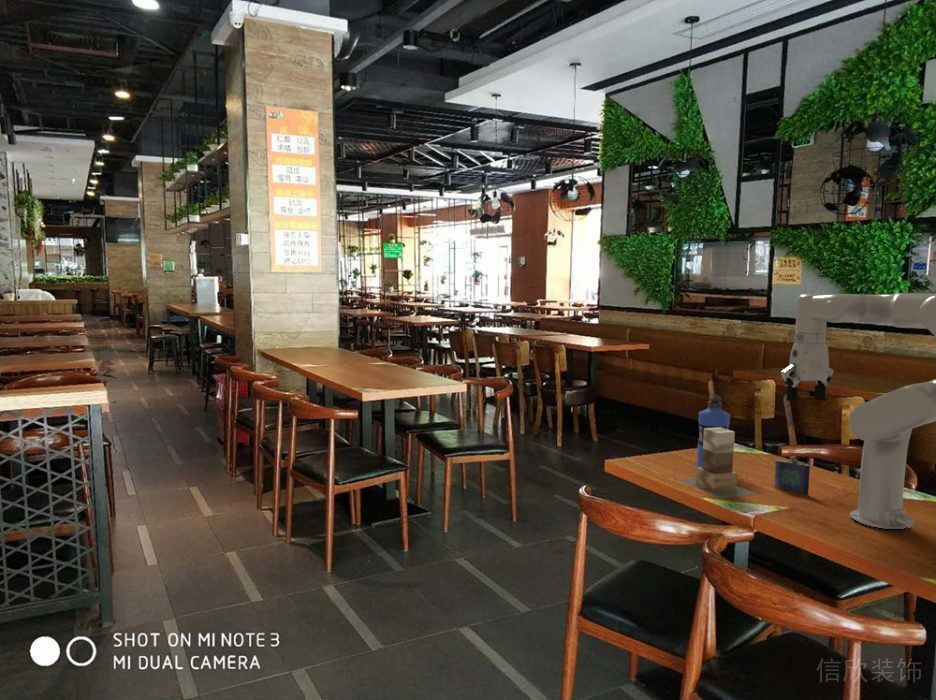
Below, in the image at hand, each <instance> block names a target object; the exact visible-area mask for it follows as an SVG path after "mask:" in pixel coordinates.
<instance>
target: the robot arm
mask: <svg viewBox="0 0 936 700" xmlns="http://www.w3.org/2000/svg"><path fill="white" fill-rule="evenodd" d="M795 314H796V315H795V331H794V336H793V337H792V338H793V340H794V342H793V345H792V348H791V351H790V356H789V363H788V366H787V367H786V368H784V369H783V370H781V372H780V374H781V377H782V381H783V383H784V385H785V387H787V390H786V401H788V402H791V403H792V402H793V403H797V402H798V394H799V388H798V387H797V386H798V385H799V383H800V382H801V381H802V382H814V381H815V383H816V384H815V385H814V396H813V399H814V400H817V401H825V400H826V391H827V390H826V388H827V387H828V386H829V382H830V381H831V379H832V377H833V374H834V369H833V368H831V367H830V356H829V354H830V353H829V348H828V344H826V334H827V323H833V324H837V323H839V324H840V323H875V324H886V325H891V326H892V327H894V328H900V329H901V328H903V329H904V328H905V329H925V330H928V331H929V332H930V333H931V334H932V335H933V336H934V337H935V338H936V293H934V292H933V293H931V292H930V293H923V292H922V293H918V292H917V293H916V292H897V293H896V292H895V293H893V294H863V293H862V294H861V293H859V294H858V293H836V294H835V293H834V294H821V293H820V294H819V293H818V294H817V293H804V294H803V293H802V294H800V295H799V296H797V301H796V313H795ZM935 422H936V378H935V379H932V380H930V381H925V382H920V383H913V384H908V385H905V386H902V387H898V388H896V389H894V390H891V391H889V392H887V393H885V394H883V395H880V396H877V397H876V398H873V399H870V400H869V401H866V402H863V403H861V404H859V405H858V406H856V407H855V408H854V409H852V411H851V413H850V415H849V418H848V426H849V429H850V431H851V433H852V434H853V435H854V436H855V437H856V438H857V439H859V440H861V441H864V442H863V447H862V453H861V463H860V473H859V474H860V475H859V490H858V503H857V509H854V510H852V511H850V514H849V515H850V516H851V517H850V516H849V517H850V518H853V519H854V520H856V521H858V522H860V523H863V524H866V525H870V526H874V527H878V528H884V529H903V530H905V529H904V528H906V527H907V528H906V529H910V528H911V527H912V526H913V525H914V523H915V521H916V520H915V518H912V517H909V516H906V515H907V514H906V512H907V510H906V509H905V508H903V499H904V489H905V476H906V468H907V467H906V466H907V456H908V455H907V454H908V447H909V442H910V439H911V435H912V431H913V429H916V428H918V427H920V426H923V425H927V424H930V423H931V424H932V423H935ZM853 519H852V520H853ZM854 520H853V521H854ZM860 523H859V524H860ZM878 528H877V529H878ZM884 529H883V530H884Z"/></svg>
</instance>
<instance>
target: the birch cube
mask: <svg viewBox="0 0 936 700" xmlns="http://www.w3.org/2000/svg"><path fill="white" fill-rule="evenodd" d="M735 435H736V432H735V431H733V430H732V429H731V430H730V429H729V428H728V429H724V428H721V427H718V428H704V437H703V449H706V450H708V451H711V452H714V453H716V454H717V453H729V452H733V453H735V452H734V451H735Z"/></svg>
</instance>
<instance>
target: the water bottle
mask: <svg viewBox="0 0 936 700" xmlns="http://www.w3.org/2000/svg"><path fill="white" fill-rule="evenodd" d="M708 399H709V400H708V401H707V408H706V409H704V410H701V411H699V412H698V420H697V421H698V429H699V437H698V441H697V451H696V469H697V468H698V467H702V451H703V437H704V428H718V427H721V428H724V429H728V430H729V427H730V421H731V420H730V419H731V414H730V413H729V412H727V411H724V410H723V409H722V407H723V402H722V401H721V400H722V398H721V396H720V395H719V394H711V395H710V396H709V397H708Z"/></svg>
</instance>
